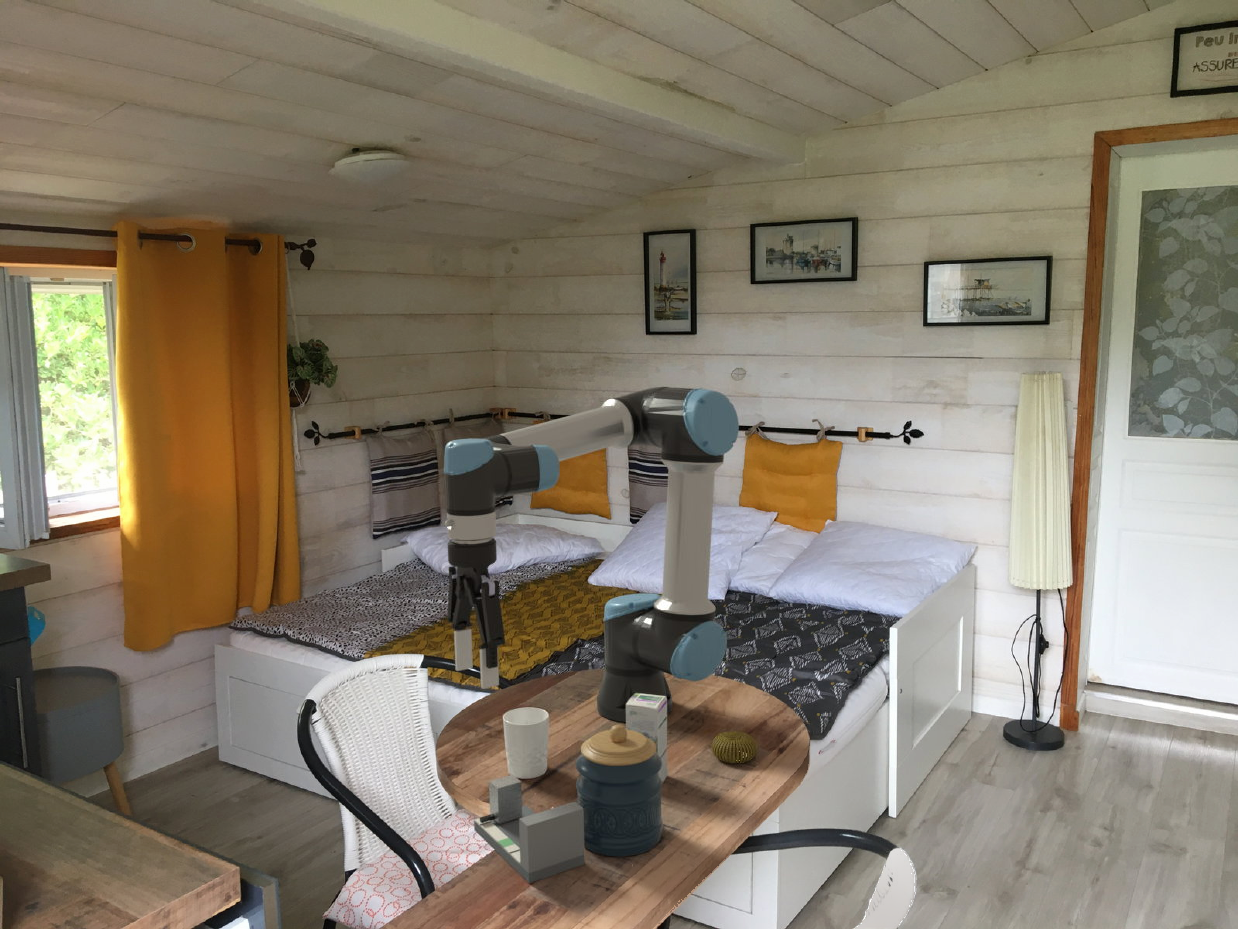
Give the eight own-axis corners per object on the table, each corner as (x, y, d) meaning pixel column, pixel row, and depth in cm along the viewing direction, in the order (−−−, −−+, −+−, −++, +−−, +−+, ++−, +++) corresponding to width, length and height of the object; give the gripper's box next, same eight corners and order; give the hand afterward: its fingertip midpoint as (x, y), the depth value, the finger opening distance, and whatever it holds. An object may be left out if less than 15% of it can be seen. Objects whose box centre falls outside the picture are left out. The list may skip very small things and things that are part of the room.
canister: (559, 839, 154) (556, 727, 151) (616, 807, 163) (614, 702, 161) (623, 869, 145) (621, 751, 143) (680, 834, 155) (679, 723, 152)
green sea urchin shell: (715, 746, 177) (708, 728, 185) (715, 768, 177) (708, 749, 185) (760, 744, 177) (752, 726, 185) (760, 766, 178) (752, 747, 186)
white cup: (543, 782, 173) (541, 726, 171) (498, 779, 174) (496, 723, 173) (555, 762, 180) (553, 708, 179) (512, 759, 182) (510, 706, 180)
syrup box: (668, 775, 174) (667, 694, 172) (658, 790, 169) (657, 707, 167) (636, 771, 176) (635, 690, 174) (625, 786, 171) (624, 703, 169)
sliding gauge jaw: (476, 820, 156) (475, 785, 155) (513, 809, 159) (512, 774, 159) (485, 828, 154) (483, 792, 153) (522, 816, 157) (521, 781, 156)
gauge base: (474, 830, 157) (472, 778, 155) (526, 814, 161) (525, 763, 160) (529, 883, 142) (527, 826, 140) (584, 864, 146) (583, 808, 145)
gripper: (422, 530, 166) (428, 663, 169) (479, 554, 148) (484, 703, 151) (465, 524, 170) (469, 654, 173) (525, 548, 152) (529, 693, 155)
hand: (476, 677), depth 162 cm, fingers open, 9 cm apart
